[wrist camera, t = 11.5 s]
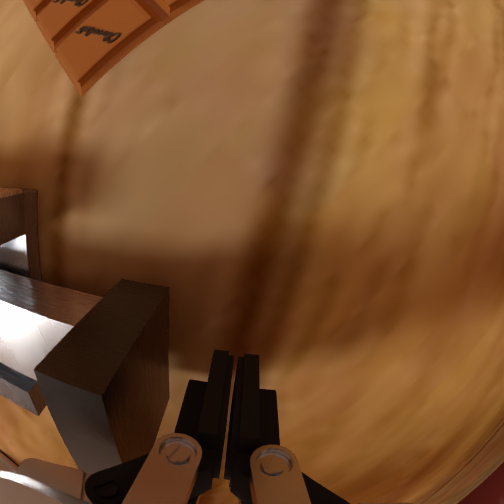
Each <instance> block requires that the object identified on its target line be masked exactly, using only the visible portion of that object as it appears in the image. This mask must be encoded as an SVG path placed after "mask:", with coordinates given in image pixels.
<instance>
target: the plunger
mask: <svg viewBox="0 0 504 504" xmlns="http://www.w3.org/2000/svg"><path fill="white" fill-rule="evenodd" d="M169 289H170V288H169V287H163V286H157V285H152V284H146V283H141V282H135V281H130V280H125V279H122V280H121V281H120V282H119V283H118V284H117V285H116V286H115V287H113V288H112V289H111V290H110V291H109V292H108V293H107V294H106V295H105V296H104V297H101V296H97V295H92V294H88V293H84V292H80V291H76V290H72V289H68V288H64V287H60V286H56V285H53V284H49V283H45V282H42V281H38V280H35V279H31V278H28V277H24V276H21V275H18V274H14V273H11V272H8V271H5V270H1V269H0V362H1V363H3V364H5V365H7V366H9V367H10V368H12V369H14V370H16V371H18V372H20V373H22V374H24V375H26V376H28V377H30V378H32V379H34V380H37V381H38V384H39V386H40V389H41V392H42V394H43V397H44V399H45V402H46V404H47V406H48V409H49V411H50V413H51V416H52V418H53V420H54V422H55V424H56V426H57V429H58V431H59V433H60V435H61V437H62V439H63V441H64V443H65V445H66V446H67V448H68V450H69V452H70V454H71V456H72V458H73V459H74V461H75V463H76V465H77V466H78V468H79V469H80V470H84V472H85V473H90V474H94V473H96V472H98V471H101V470H104V469H107V468H110V467H113V466H116V465H119V464H122V463H125V462H127V461H130V460H133V459H135V458H138V457H141V456H143V455H146V454H148V453H150V452H151V450H152V448H153V446H154V443H155V440H156V437H157V433H158V430H159V427H160V424H161V421H162V418H163V415H164V412H165V409H166V406H167V403H168V400H169V361H168V328H169Z"/></svg>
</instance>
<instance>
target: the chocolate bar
mask: <svg viewBox="0 0 504 504" xmlns="http://www.w3.org/2000/svg"><path fill="white" fill-rule="evenodd" d="M23 1H24V3H25V5H26V6H27V8H28V10H29V12H30V14H31V15H32V17H33V19H34V21H35V22H37V23H36V24H37V26H38V28H39V29H40V31H41V33H42V34H43V36H44V38H45V39H46V41H47V43H48V44H49V46H50V48H51V49H52V51H53V52H54V53H55V56H56V58H57V59H58V61H59V62H60V64H61V66H62V67H63V69H64V70H65V72H66V74H67V75H68V77H69V78H70V80H71V81H72V83H73V85H74V86H75V88H76V89H77V91H78V92H79V94H80V95H81V97H82V96H83V95H84V94H85V93H86V92H87V91H88V90H89V89H90V88H91V87H92V86H93V85H94V84H95V83H96V82H97V81H98V80H99V79H100V78H101V77H102V76H103V75H104V74H105V73H106V72H108V71H109V70H110V69H111V68H112V67H113V66H114V65H115V64H116V63H118V62H119V61H120V60H121V59H122V58H123V57H125V56H126V55H127V54H128V53H129V52H130V51H132V50H133V49H134V48H135V47H137V46H138V45H139V44H140V43H142V42H143V41H144V40H146V39H147V38H148V37H149V36H151V35H152V34H153V33H155V32H156V31H158V30H159V29H160V28H162V27H163V26H165V25H166V24H167V23H169V22H170V21H172V20H173V19H175V18H176V17H178V16H179V15H181V14H182V13H184V12H185V11H187V10H189V9H190V8H192V7H193V6H195V5H197V4H198V3H200V2H202V1H204V0H23Z"/></svg>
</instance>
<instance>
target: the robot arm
mask: <svg viewBox="0 0 504 504" xmlns="http://www.w3.org/2000/svg"><path fill="white" fill-rule="evenodd" d="M228 354H229V351H222V350H214V354H213V359H212V363H211V368H210V373H209V378H208V382H203V381H197V380H191V379H190V380H189V382H188V386H187V389H186V393H185V396H184V400H183V403H182V407H181V410H180V414H179V418H178V421H177V425H176V428H175V432H174V433H171V434H167V435H164V436H162V437H161V438H159V439H158V440H157V442H156V443H155V444H154V446H153V448H152V450H151V452H150V453H148V454H146V455H143V456H141V457H138V458H135V459H133V460H130V461H127V462H125V463H122V464H119V465H116V466H113V467H110V468H107V469H104V470H101V471H98V472H96V473H94V474H90V473H85V472H84V470H80V469H75V468H71V467H66V466H62V465H58V464H54V463H50V462H46V461H43V460H39V459H34V458H28V459H25V460H23V461H22V462H21V463H20V465H19V467H18V466H17V465H16V464H14V463H13V462H12V461H11V460H10V459H9V458H7V457H6V456H5V455H4V454H2V453H1V452H0V504H198V502H199V499H200V495H201V494H203V493H204V492H206V491H208V490H210V489H211V487H212V480H213V478H219V475H220V468H221V461H222V454H223V447H224V440H225V432H226V423H227V414H228V405H229V396H230V387H231V378H232V369H233V360H234V356H231V355H228ZM224 479H227V480H230V483H229V487H231V488H230V491H231V492H232V493H233V494H234V495H235V496H236V497H238V498H239V504H350V503H348V502H347V501H346V500H344V499H342V498H341V497H339V496H337V495H336V494H334V493H333V492H331V491H329V490H328V489H326V488H325V487H323V486H322V485H320V484H318V483H317V482H315V481H314V480H312V479H311V478H310V477H308V476H307V475H305V474H304V473H302V472H301V470H300V466H299V463H298V460H297V458H296V456H295V455H294V454H293V453H292V452H291V451H290V450H289V449H287V448H285V447H282V446H280V439H279V424H278V410H277V396H276V391H275V390H267V389H259V355H253V354H244V357H238V363H237V370H236V377H235V383H234V390H233V397H232V403H231V412H230V422H229V432H228V442H227V452H226V462H225V473H224ZM358 504H412V503H360V502H359V503H358Z"/></svg>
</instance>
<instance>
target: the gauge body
mask: <svg viewBox="0 0 504 504" xmlns="http://www.w3.org/2000/svg"><path fill="white" fill-rule="evenodd" d="M0 269H1V270H5V271H8V272H11V273H14V274H18V275H21V276H24V277H28V278H31V279H35V280H38V281H42V278H41V269H40V259H39V247H38V229H37V190H31V189H15V188H0ZM0 395H2V396H4V397H5V398H7V399H9V400H10V401H12V402H14V403H15V404H17V405H19V406H21V407H23V408H24V409H26V410H28V411H30V412H32V413H34V414H36V415H38V416H39V415H40V413H41V412H42V411H43V409H44V408H45V406H46V405H47V404H46V402H45V399H44V397H43V394H42V392H41V389H40V386H39V384H38V381H37V380H34V379H32V378H30V377H28V376H26V375H24V374H22V373H20V372H18V371H16V370H14V369H12V368H10V367H9V366H7V365H5V364H3V363H1V362H0Z"/></svg>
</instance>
